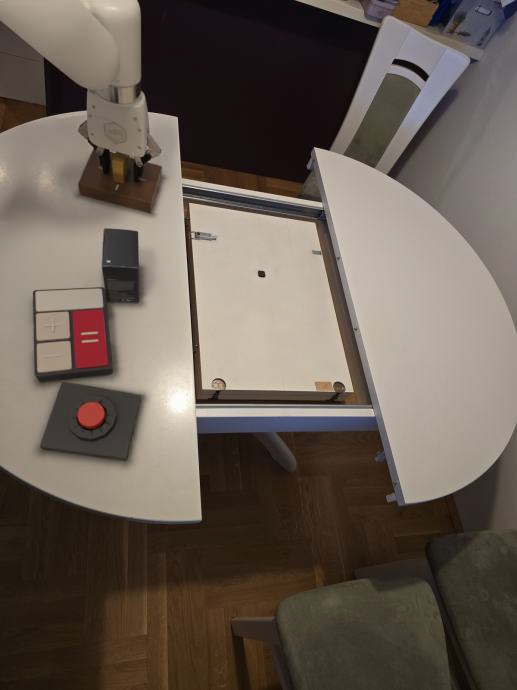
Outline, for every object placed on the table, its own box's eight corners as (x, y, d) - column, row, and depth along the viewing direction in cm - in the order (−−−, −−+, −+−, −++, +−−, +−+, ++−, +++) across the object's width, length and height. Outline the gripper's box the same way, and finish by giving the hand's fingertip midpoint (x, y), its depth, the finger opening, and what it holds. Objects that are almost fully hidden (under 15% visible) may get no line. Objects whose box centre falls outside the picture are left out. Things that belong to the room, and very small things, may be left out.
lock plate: (80, 195, 78) (77, 182, 75) (95, 158, 83) (93, 146, 80) (150, 213, 81) (150, 202, 78) (161, 177, 86) (162, 165, 83)
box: (139, 303, 71) (138, 268, 62) (106, 302, 70) (100, 266, 60) (139, 267, 75) (139, 229, 65) (108, 266, 73) (103, 226, 64)
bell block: (42, 449, 57) (36, 444, 54) (64, 386, 62) (59, 377, 58) (126, 461, 59) (125, 456, 56) (141, 399, 64) (141, 391, 61)
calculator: (33, 375, 58) (31, 287, 63) (39, 383, 61) (37, 300, 66) (111, 367, 61) (104, 284, 66) (113, 375, 65) (106, 296, 70)
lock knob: (123, 184, 78) (122, 162, 74) (113, 181, 78) (111, 159, 73) (130, 167, 81) (129, 145, 76) (120, 164, 80) (119, 142, 76)
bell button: (75, 427, 56) (74, 424, 55) (83, 403, 58) (81, 399, 56) (101, 430, 57) (100, 428, 55) (108, 407, 59) (107, 404, 57)
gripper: (53, 79, 60) (72, 173, 76) (165, 113, 63) (160, 197, 79) (69, 53, 64) (83, 148, 79) (174, 87, 67) (168, 172, 83)
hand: (122, 172), depth 79 cm, fingers open, 5 cm apart
